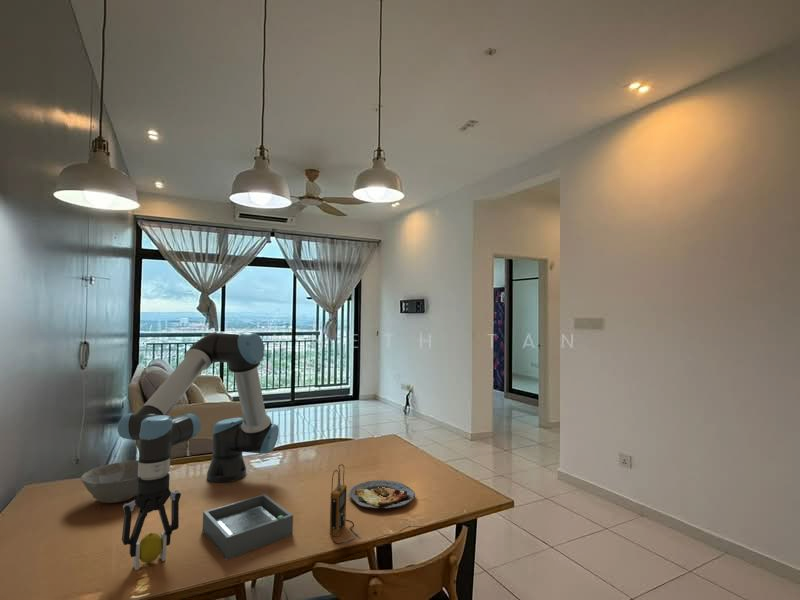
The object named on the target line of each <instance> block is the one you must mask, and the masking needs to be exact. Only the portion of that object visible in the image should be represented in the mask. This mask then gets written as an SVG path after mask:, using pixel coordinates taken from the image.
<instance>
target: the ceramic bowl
mask: <svg viewBox="0 0 800 600" xmlns="http://www.w3.org/2000/svg"><path fill="white" fill-rule="evenodd" d="M138 463H139V459H138V460H137V459H136V460H135V459H134V460H126V461H120V462H114V463H109V464H105V465H102V466H98V467H94V468H93V469H90V470H89V471H86V472H84V473H83V474H82V475H81V477H80V480H81V483H83V485H84V487H85V488H86V490H87V491H88V492H89V494H91V495H92V498H93V499H96V500H97V501H99V502H100V503H105V504H113V503H114V504H115V503H121V502H125V501H128V500H130V499H132V498H135V497H136V495H137V480H138V478H139V477H138Z"/></svg>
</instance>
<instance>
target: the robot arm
mask: <svg viewBox="0 0 800 600" xmlns="http://www.w3.org/2000/svg"><path fill="white" fill-rule="evenodd" d="M264 352H265V345H264V341H263V339H262V337H261V336H260V335H259V334H257V333H255V332H249V331H215V332H212V333H209V334H207V335H205V336H203V337H202V338H200V339H199V340H198V341H196V342H195V343H194V344H192V345H191V347H189V348H188V350H187V351H186V352H185V354H184V357H185V358H183V360H182V361H181V362H180V363H179V364H178V366H176V368H175V369H174V370H173V371H172V372H171V373H170V375H169V376H168V377H167V378H166V379H165V380H164V381H163V382H162V384H161V385H160V386H159V387H158V388H157V389H156V391H154V393H153V394H152V395H151V396H150V397H149V398H148V400H147V401H146V402H145V403H144V404H143V405H142V406H141V407H140V409H139V410H138V411H137V412H130V413H127V414H124V415H123V416H122V417H121V419H119V422H118V425H117V433H118V435H119V437H120V438H122V439H126V440H131V441H139V444H138V445H139V446H138V449H139V450H138V453H139V455H138V460H139V463H138V477H139V478H138V480H137V495H135V496H134V500H132V501H129V502H128V503H127V502H125V503H123V504H122V509H123V512H124V515H123V522H122V523H123V525H122V534H121V535H122V536H121V541H122V544H123V546H127V545H129V556H130V557H131V558H133V564H132V565H133V568H134V570H135V571H138V570H140V559H139V556H140V541H139V537H140V534H141V531H142V528H143V525H144V522H145V521H146V518H147V516H148V513H151V512H153V511H158V514H159V517H160V520H161V523H162V527H163V530H164V531H162V532H160V538H161V541H162V549H161V553H160V555H159V558H160V560H161V561H162V562H164V561H166V560H167V559H166V557H167V546H170V544H171V535H172V534H173V531H175V530H178V529H179V525H180V524H179V523H180V522H179V519H180V518H179V517H180V516H179V515H180V514H179V509H180V508H179V506H180V505H179V502H180V498H181V496H182V493H180V491H179V490H175V491H171V490H170V473H169V472H170V471H171V452H172V447H174V446H176V445H179V444H181V443H184V442H188V441H189V440H191V439H192V438H194V437H196V436H197V435H198V434H199V433H200V431H201V426H202V424H201V420H200V418H199V417H198V416H197V415H196V414H193V413H191V412H190V413H183V414H182V415H169V414H170V412H171V411H172V410H173V409H174V407H175V406H176V405H177V404H178V403H179V401H180V399H182V398H183V396H184V395H185V394H186V392H187V391H188V390H189V389H190V387H191V386H193V385H192V384H193V383H194V382H196V380H197V378H198V377H199V376H200V375H201V373H202V372H203V371H205V370H207V369H209V368H210V367H211V365H213V364H215V363H227V368H228V371H229V372H230V373H233V375H234V380H235V384H236V389H237V393H238V399H239V403H240V408H241V409H240V410H241V413H242V417H232V418H227V419H222V420H220V421H217V422H216V423H214V425H213V431H212V458H211V461H210V462H209V463H210V464H209V466H208V469H207V473H206V479H207V481H209V482H211V483H220V484H221V483H230V482H234V481H238V480H241V479H242V478H243V477H245V476H246V474H247V466H246V463H245V460H244V455H243V453H249V454H250V453H251V454H260V455H261V454H270V453H271V452H273V450H274V448H275V447H276V444H277V442H278V438H279V433H280V432H279V425H277V424H275V423H272V420H271V417H270V416H269V415H267V413H266V408H265V403H264V397H263V392H262V387H261V381H260V376H259V370H258V367H260V365H261V361H263V359H264V356H265V353H264ZM169 498H170V501H171V506H170V507H171V508H170V509H171V510H170V511H171V517H170V518H171V521H170V522H169V519H168V515H167V512H166V508H165V503H166V502H167V501H168V500H169ZM135 506H137V508H139V510H138V514H137V518H136V521H135V523H134V527H133V529H132V532H131V527H132V526H131V525H132V517H133V515H132V514H133V513H132V512H133V511H134V509H135Z"/></svg>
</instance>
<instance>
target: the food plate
mask: <svg viewBox="0 0 800 600" xmlns="http://www.w3.org/2000/svg"><path fill="white" fill-rule="evenodd" d="M378 487H379V488H378ZM382 487H385V488H390V489H394V490H395V491H394V490H393V491H392V492H391V493H392V494H388V491H387V489H384V488H382ZM371 489H373V491H374V490H375V491H374V492H375V493H374V492H372V490H371ZM390 489H389V490H390ZM400 491H404V493H402V492H400ZM376 492H377V493H378V494H379V495H381V496H383V497H386V499H384V500H383V499H382V498H380V497H379V496H377V495H378V494H377V493H376ZM401 493H402V494H401ZM347 495H348V496H349V497H350V498H351V499H352V501H354V502H355V503H356V504H358V505H359V506H361V507H363V508H365V509H366V508H367V509H374V510H388V509H392V508H398V507H404V506H406V505H408V504H409V503H411V502H412V501H414V500H415V498H416V493H415V491H414V490H413V489H412V488H410V487H409V486H407V485H406V484H404V483H402V482H401V481H400V482H399V481H394V480H381V479H380V480H379V479H378V480H369V481H365V482H360V483H358V484H356V485H354V486H352V487H350V489H349V490H348V494H347ZM385 500H387V501H385Z"/></svg>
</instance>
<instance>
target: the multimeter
mask: <svg viewBox="0 0 800 600" xmlns="http://www.w3.org/2000/svg"><path fill="white" fill-rule="evenodd" d="M341 466H342V467H343V468H345V466H344V464H339V465H338V467H341ZM335 472H337V475H338V477H337V486H336V487H335V488H334V489H333V490H332V491H331V493H330V507H329V508H330V509H329V513H330V514H329V536H331V540H332V542H333V543H334V544H336V545H341V544H343V543H344V544H345V543H347V542H349V541H351V540H352V539H354V538H356V537H359V538H360V539H361V538H362V537H361V536H360V534H358V532H356V531H355V530H352V528H353V527H354V525H355V524H354V522H353V521H352V520H349V519H346V518H347V517H346V516H347V488H348V487H347V485H345V471H343V472H342V473H343V474H342V481H343V483H342V484H343V485H342V484H341V469H340V468H338V470H337V469H336V470H334V471H333V473H332V478H331V488H333V486H334V485H333V481H334V475H335ZM346 521H347V522H350V523H352V525H351V526H350V527H349V529H350V531H351V532H352V533H353V534H355V535H356V536H353V537H350V538H348V539H345V540H343V541H342V542H339V543H338V542H336V541H335V540H334V537H339V536H340V534H341V532H342V531H343V530H344V528H345V527H346Z"/></svg>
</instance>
